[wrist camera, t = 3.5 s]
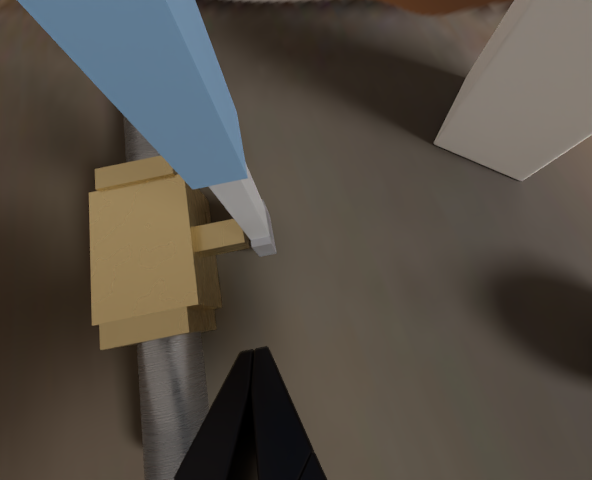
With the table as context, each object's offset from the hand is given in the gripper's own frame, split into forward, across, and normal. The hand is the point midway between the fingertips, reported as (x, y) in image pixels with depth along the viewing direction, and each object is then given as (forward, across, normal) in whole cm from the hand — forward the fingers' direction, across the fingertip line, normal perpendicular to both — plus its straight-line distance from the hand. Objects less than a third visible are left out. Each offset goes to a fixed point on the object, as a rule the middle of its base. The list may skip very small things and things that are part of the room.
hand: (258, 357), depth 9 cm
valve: (+11, +5, +2) cm, 12 cm away
